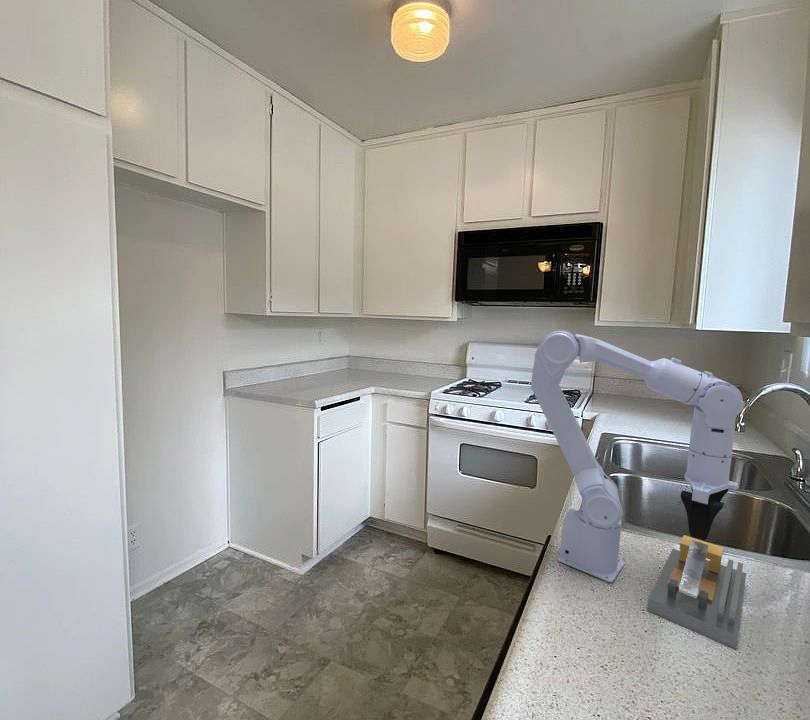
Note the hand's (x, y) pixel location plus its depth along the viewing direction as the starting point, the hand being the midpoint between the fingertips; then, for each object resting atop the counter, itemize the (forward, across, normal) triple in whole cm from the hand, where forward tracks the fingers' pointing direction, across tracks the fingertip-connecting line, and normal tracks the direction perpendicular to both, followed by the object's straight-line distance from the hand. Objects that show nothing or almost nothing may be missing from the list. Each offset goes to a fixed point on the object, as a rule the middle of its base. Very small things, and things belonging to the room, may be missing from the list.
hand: (700, 530), depth 71 cm
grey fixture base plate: (+10, -2, -1) cm, 11 cm away
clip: (+8, +6, 0) cm, 10 cm away
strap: (+6, -3, 0) cm, 6 cm away
